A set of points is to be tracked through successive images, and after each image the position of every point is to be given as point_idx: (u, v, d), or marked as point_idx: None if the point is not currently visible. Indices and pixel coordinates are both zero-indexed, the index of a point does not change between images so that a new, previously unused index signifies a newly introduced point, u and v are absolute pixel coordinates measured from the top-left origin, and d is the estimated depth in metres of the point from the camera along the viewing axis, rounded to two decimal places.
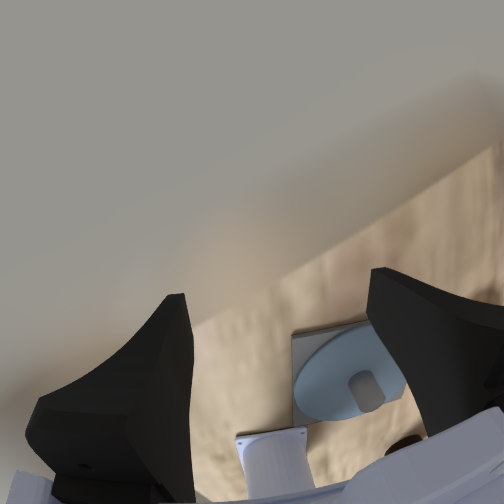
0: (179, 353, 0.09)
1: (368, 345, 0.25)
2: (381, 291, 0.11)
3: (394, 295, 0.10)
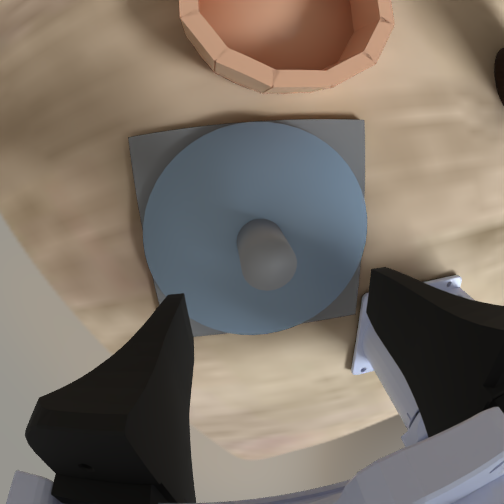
0: (179, 353, 0.09)
1: (180, 247, 0.17)
2: (381, 291, 0.11)
3: (394, 295, 0.10)
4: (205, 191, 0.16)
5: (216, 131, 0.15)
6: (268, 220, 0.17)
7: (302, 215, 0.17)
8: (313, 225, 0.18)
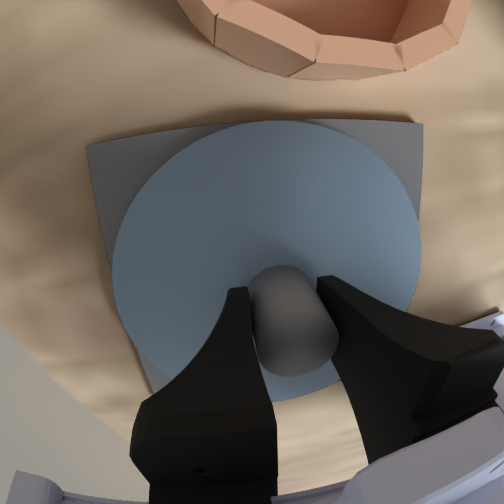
0: None
1: (165, 304, 0.12)
2: (324, 301, 0.11)
3: (334, 306, 0.10)
4: (199, 227, 0.11)
5: (215, 135, 0.10)
6: (292, 267, 0.12)
7: (339, 259, 0.12)
8: (353, 271, 0.12)
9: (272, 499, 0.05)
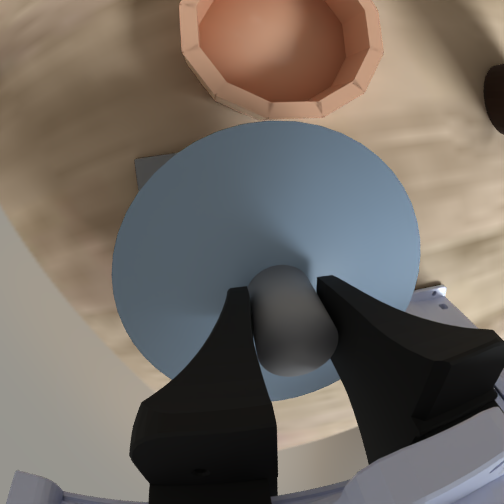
0: None
1: (165, 304, 0.12)
2: (324, 301, 0.11)
3: (334, 306, 0.10)
4: (199, 227, 0.11)
5: (215, 135, 0.10)
6: (292, 267, 0.12)
7: (339, 259, 0.12)
8: (353, 271, 0.12)
9: (272, 499, 0.05)
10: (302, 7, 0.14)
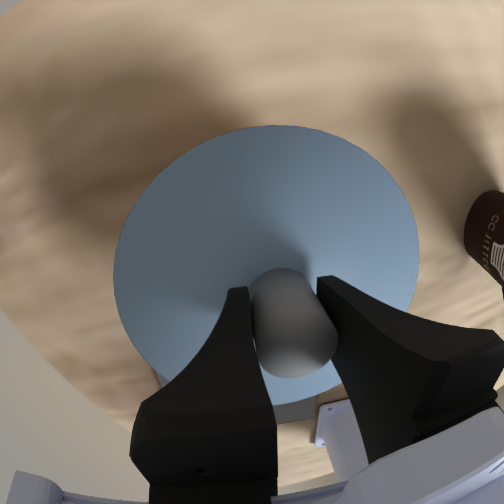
0: None
1: (166, 306, 0.12)
2: (324, 301, 0.11)
3: (334, 306, 0.10)
4: (201, 229, 0.11)
5: (218, 138, 0.10)
6: (292, 270, 0.12)
7: (338, 263, 0.12)
8: (352, 275, 0.12)
9: (272, 499, 0.05)
10: None
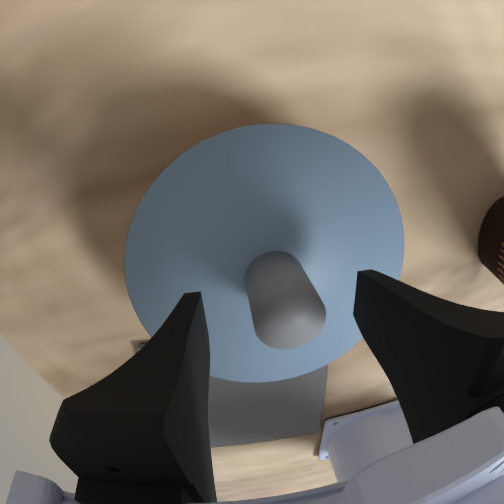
0: (199, 351, 0.09)
1: (172, 286, 0.13)
2: (367, 294, 0.11)
3: (379, 298, 0.10)
4: (204, 216, 0.12)
5: (219, 135, 0.11)
6: (286, 253, 0.13)
7: (328, 247, 0.14)
8: (341, 258, 0.14)
9: None
10: None
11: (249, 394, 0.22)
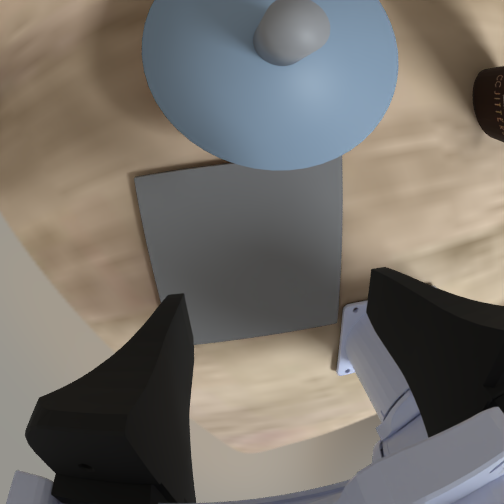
0: (179, 353, 0.09)
1: (185, 45, 0.12)
2: (381, 291, 0.11)
3: (394, 295, 0.10)
4: None
5: None
6: None
7: None
8: (339, 34, 0.12)
9: None
10: None
11: (256, 247, 0.21)
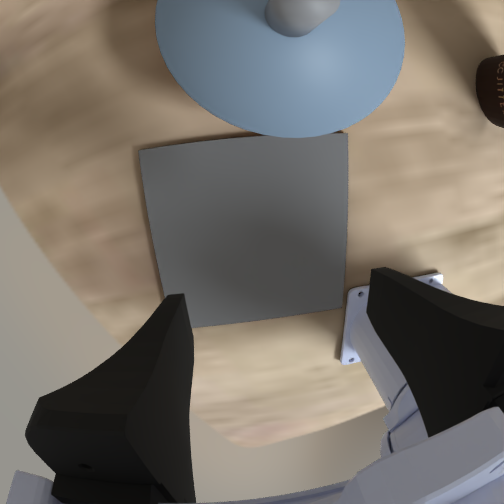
0: (179, 353, 0.09)
1: (198, 14, 0.12)
2: (381, 291, 0.11)
3: (394, 295, 0.10)
4: None
5: None
6: None
7: None
8: (348, 10, 0.12)
9: None
10: None
11: (260, 224, 0.20)
